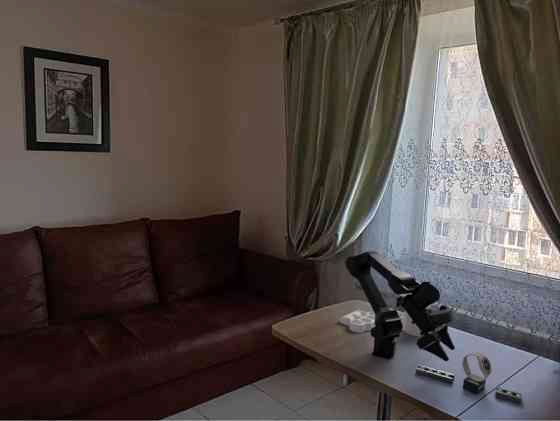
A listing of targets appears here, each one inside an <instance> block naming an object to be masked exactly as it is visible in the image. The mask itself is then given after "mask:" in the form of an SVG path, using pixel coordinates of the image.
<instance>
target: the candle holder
mask: <svg viewBox="0 0 560 421" xmlns="http://www.w3.org/2000/svg"><path fill="white" fill-rule="evenodd" d="M431 306H432V304H431V305H430V306H428V307H426V309H428V308H429V309H431ZM403 310H404V309H403ZM403 312H404V315H403V316H404V319H403V320H404V321H403V331H404V332H405V333H406V334H407V335H410V336H413V337H420V336H421V334H420V332H421V331H420V329H419V328H418V327H417V325H416V324H412V323H411V321H412V319H411V317H410V316H409V315H408V314H407V312H406V311H405V310H404V311H403Z"/></svg>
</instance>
